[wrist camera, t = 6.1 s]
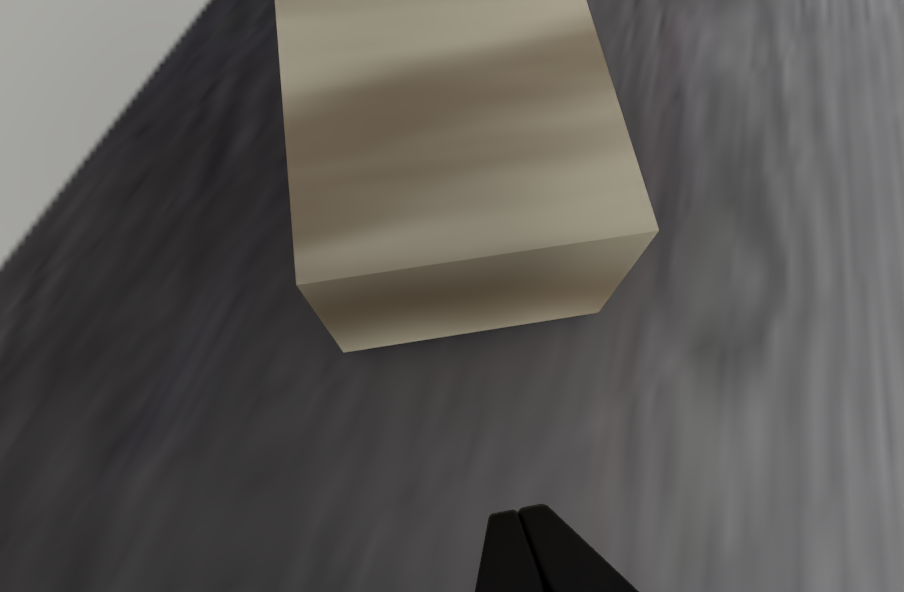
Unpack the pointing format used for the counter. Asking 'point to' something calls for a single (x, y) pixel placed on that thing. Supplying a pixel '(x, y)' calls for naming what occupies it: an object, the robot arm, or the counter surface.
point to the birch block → (454, 166)
